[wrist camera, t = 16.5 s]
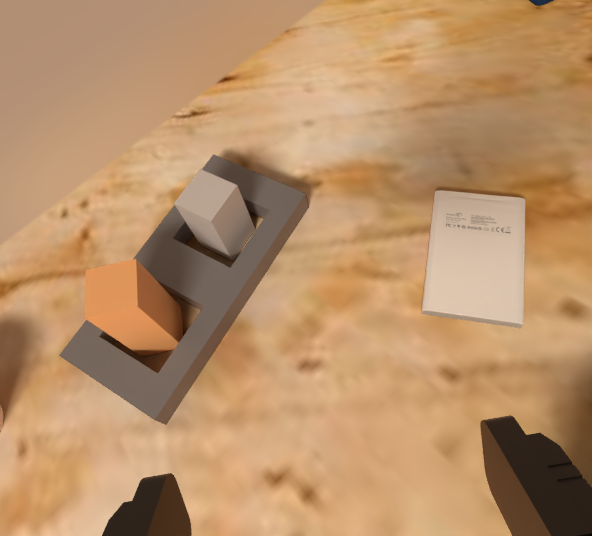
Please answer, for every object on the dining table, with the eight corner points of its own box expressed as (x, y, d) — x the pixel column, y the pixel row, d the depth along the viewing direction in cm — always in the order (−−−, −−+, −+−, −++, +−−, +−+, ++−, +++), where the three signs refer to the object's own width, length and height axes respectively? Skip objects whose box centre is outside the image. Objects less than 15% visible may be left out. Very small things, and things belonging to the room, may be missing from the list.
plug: (184, 347, 45) (137, 306, 36) (141, 356, 45) (84, 318, 36) (181, 306, 47) (136, 258, 38) (140, 315, 47) (85, 270, 38)
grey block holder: (220, 169, 53) (198, 120, 47) (308, 207, 50) (298, 160, 43) (74, 362, 46) (23, 337, 39) (165, 424, 42) (127, 408, 35)
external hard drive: (420, 316, 44) (433, 198, 49) (519, 330, 42) (522, 206, 47) (422, 309, 42) (435, 188, 47) (524, 324, 41) (527, 197, 46)
